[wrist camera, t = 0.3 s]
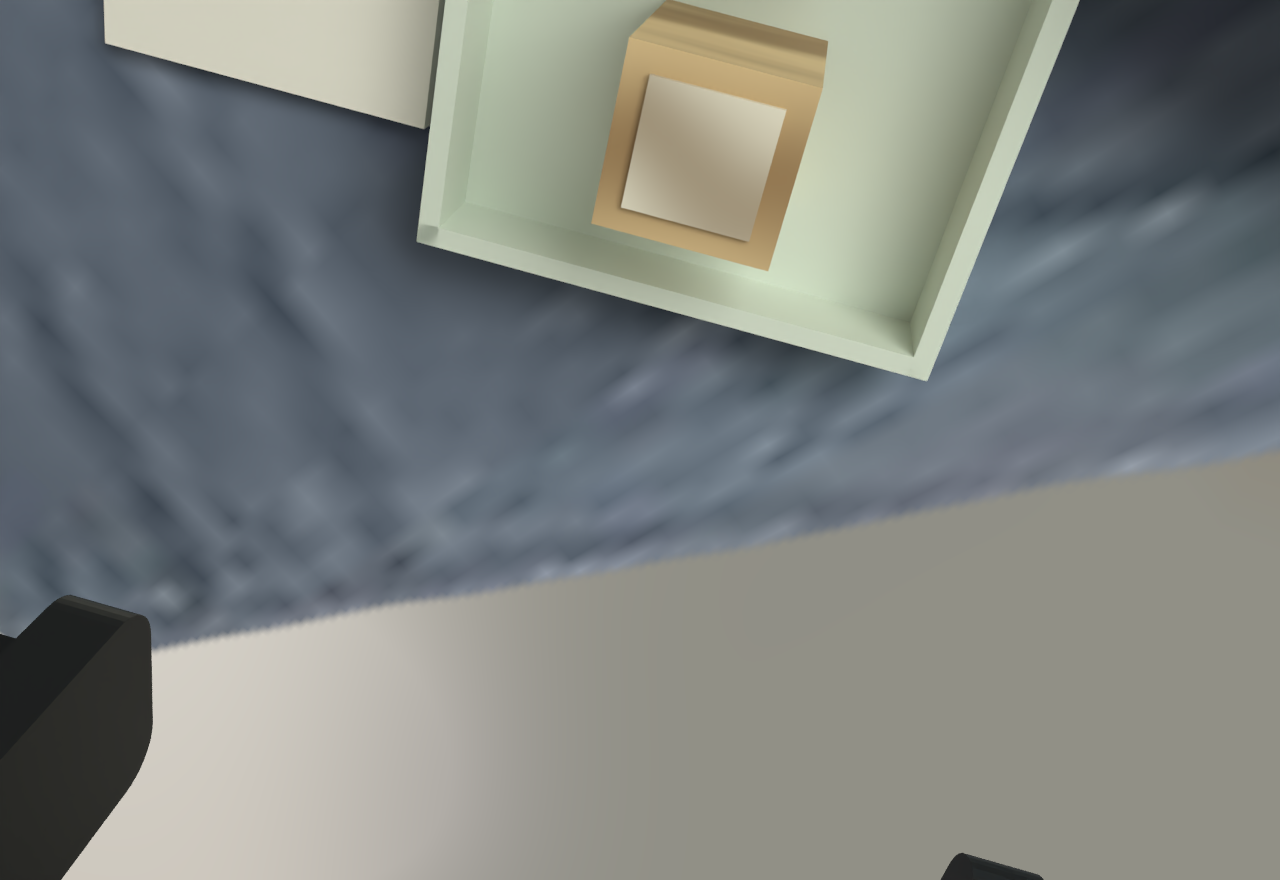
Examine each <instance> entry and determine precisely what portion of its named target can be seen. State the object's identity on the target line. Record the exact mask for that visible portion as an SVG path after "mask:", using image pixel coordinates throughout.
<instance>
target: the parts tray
mask: <svg viewBox="0 0 1280 880" xmlns="http://www.w3.org/2000/svg"><path fill="white" fill-rule="evenodd" d="M665 1H666V0H445V7H444V16H443V24H442V32H441V41H440V49H439V57H438V66H437V74H436V82H435V91H434V99H433V108H432V116H431V124H430V133H429V141H428V149H427V158H426V166H425V174H424V183H423V191H422V199H421V208H420V216H419V225H418V233H417V241H416V242H419V243H423V244H427V245H430V246H434V247H437V248H441V249H445V250H448V251H452V252H456V253H459V254H463V255H467V256H470V257H474V258H478V259H481V260H485V261H489V262H492V263H496V264H500V265H503V266H507V267H511V268H514V269H518V270H522V271H525V272H529V273H533V274H536V275H540V276H544V277H547V278H551V279H555V280H558V281H562V282H566V283H569V284H573V285H577V286H580V287H584V288H588V289H591V290H595V291H599V292H602V293H606V294H609V295H613V296H617V297H620V298H624V299H628V300H631V301H635V302H639V303H642V304H646V305H650V306H653V307H657V308H661V309H664V310H668V311H672V312H675V313H679V314H683V315H686V316H690V317H694V318H697V319H701V320H705V321H708V322H712V323H716V324H719V325H723V326H727V327H730V328H734V329H738V330H741V331H745V332H749V333H752V334H756V335H760V336H763V337H767V338H771V339H774V340H778V341H782V342H785V343H789V344H792V345H796V346H800V347H803V348H807V349H811V350H814V351H818V352H822V353H825V354H829V355H833V356H836V357H840V358H844V359H847V360H851V361H855V362H858V363H862V364H866V365H869V366H873V367H877V368H880V369H884V370H888V371H891V372H895V373H899V374H902V375H906V376H910V377H913V378H917V379H921V380H924V381H927V380H928V378H929V375H930V373H931V370H932V368H933V365H934V363H935V360H936V358H937V355H938V353H939V350H940V348H941V345H942V343H943V340H944V338H945V335H946V333H947V330H948V328H949V325H950V323H951V320H952V318H953V315H954V313H955V310H956V308H957V305H958V303H959V301H960V298H961V296H962V293H963V291H964V288H965V286H966V283H967V281H968V278H969V276H970V273H971V271H972V268H973V266H974V263H975V261H976V258H977V256H978V253H979V251H980V248H981V246H982V243H983V241H984V238H985V236H986V233H987V231H988V228H989V226H990V223H991V221H992V218H993V216H994V213H995V211H996V208H997V206H998V203H999V201H1000V198H1001V196H1002V193H1003V191H1004V188H1005V186H1006V183H1007V181H1008V178H1009V176H1010V173H1011V171H1012V168H1013V166H1014V163H1015V161H1016V158H1017V156H1018V153H1019V151H1020V148H1021V146H1022V143H1023V141H1024V138H1025V136H1026V133H1027V131H1028V128H1029V126H1030V123H1031V121H1032V118H1033V116H1034V113H1035V111H1036V108H1037V106H1038V103H1039V101H1040V98H1041V96H1042V93H1043V91H1044V88H1045V86H1046V83H1047V81H1048V78H1049V76H1050V73H1051V71H1052V68H1053V66H1054V63H1055V61H1056V58H1057V56H1058V53H1059V51H1060V48H1061V46H1062V43H1063V41H1064V38H1065V36H1066V33H1067V31H1068V28H1069V26H1070V23H1071V21H1072V18H1073V16H1074V13H1075V11H1076V8H1077V6H1078V3H1079V1H1080V0H674V1H678V2H681V3H685V4H689V5H693V6H697V7H700V8H704V9H708V10H712V11H716V12H719V13H723V14H727V15H731V16H735V17H738V18H742V19H746V20H750V21H754V22H757V23H761V24H765V25H769V26H773V27H776V28H780V29H784V30H788V31H792V32H795V33H799V34H803V35H807V36H811V37H814V38H818V39H822V40H826V41H828V48H827V56H826V65H825V74H824V83H823V89H822V93H821V96H820V100H819V103H818V106H817V110H816V113H815V116H814V120H813V123H812V126H811V130H810V133H809V136H808V140H807V143H806V146H805V150H804V153H803V156H802V160H801V163H800V167H799V170H798V173H797V177H796V180H795V183H794V187H793V190H792V193H791V197H790V200H789V203H788V207H787V210H786V213H785V217H784V220H783V224H782V227H781V230H780V234H779V237H778V240H777V244H776V247H775V250H774V254H773V257H772V260H771V264H770V267H769V270H768V271H765V270H761V269H757V268H753V267H750V266H746V265H742V264H739V263H735V262H731V261H728V260H724V259H720V258H717V257H713V256H709V255H706V254H702V253H698V252H694V251H691V250H687V249H683V248H680V247H676V246H672V245H669V244H665V243H661V242H658V241H654V240H650V239H647V238H643V237H639V236H635V235H632V234H628V233H624V232H621V231H617V230H613V229H610V228H606V227H602V226H599V225H595V224H591V221H592V217H593V212H594V207H595V202H596V197H597V192H598V187H599V182H600V177H601V173H602V168H603V163H604V158H605V153H606V148H607V143H608V138H609V133H610V129H611V124H612V119H613V114H614V109H615V104H616V99H617V94H618V89H619V84H620V80H621V75H622V70H623V65H624V60H625V55H626V50H627V45H628V40H629V37H630V36H631V35H632V34H633V33H634V32H635V31H636V30H637V29H638V28H639V27H640V26H641V25H642V24H643V23H644V22H645V21H646V20H647V19H648V18H649V17H650V16H651V15H652V14H653V13H654V12H655V11H656V10H657V9H658V8H659V7H660V6H661V5H662V4H663V3H664V2H665Z"/></svg>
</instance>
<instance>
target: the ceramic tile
mask: <svg viewBox="0 0 1280 880" xmlns="http://www.w3.org/2000/svg"><path fill="white" fill-rule="evenodd" d="M444 7H445V0H104V24H105V43H106V44H110V45H114V46H117V47H121V48H125V49H128V50H132V51H136V52H140V53H143V54H147V55H151V56H154V57H158V58H162V59H166V60H169V61H173V62H177V63H180V64H184V65H188V66H192V67H195V68H199V69H203V70H206V71H210V72H214V73H217V74H221V75H225V76H229V77H232V78H236V79H240V80H243V81H247V82H251V83H255V84H258V85H262V86H266V87H269V88H273V89H277V90H281V91H284V92H288V93H292V94H295V95H299V96H303V97H307V98H310V99H314V100H318V101H321V102H325V103H329V104H333V105H336V106H340V107H344V108H347V109H351V110H355V111H359V112H362V113H366V114H370V115H373V116H377V117H381V118H384V119H388V120H392V121H396V122H399V123H403V124H407V125H410V126H414V127H418V128H422V129H425V128H426V127H428V126H429V125H430V124H431V116H432V108H433V99H434V91H435V82H436V74H437V66H438V57H439V49H440V41H441V32H442V24H443V16H444Z"/></svg>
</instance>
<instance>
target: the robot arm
mask: <svg viewBox="0 0 1280 880" xmlns="http://www.w3.org/2000/svg"><path fill="white" fill-rule="evenodd" d="M152 725H153V714H152V661H151V628H150V624H149V621H148V619H147V618H146V617H145V616H143V615H139V614H136V613H132V612H129V611H125V610H122V609H118V608H115V607H111V606H108V605H104V604H101V603H97V602H94V601H90V600H87V599H83V598H80V597H76V596H73V595H66V596H63V597H61V598H59V599H57V600H56V601H54V602H53V603H52V604H51V605H50V606H49V607H47V608H46V609H45V610H44V611H43V612H42V613H41V614H40V615H39V616H38V617H37V618H36V619H35V620H34V621H33V622H32V623H31V624H30V625H29V626H28V627H27V628H26V629H25V630H24V631H23V632H22V633H21V634H20V635H19V636H18V637H17V638H12V637H9V636H5V635H2V634H0V880H61V879H62V878H63V876H64V875H65V874H66V872H67V871H68V870H69V868H70V867H71V866H72V864H73V863H74V862H75V860H76V859H77V858H78V856H79V855H80V854H81V852H82V851H83V850H84V848H85V847H86V845H87V844H88V843H89V841H90V840H91V838H92V837H93V836H94V835H95V833H96V832H97V831H98V829H99V828H100V827H101V825H102V824H103V822H104V821H105V820H106V819H107V817H108V816H109V815H110V813H111V812H112V811H113V809H114V808H115V806H116V805H117V804H118V802H119V801H120V800H121V798H122V797H123V796H124V794H125V793H126V792H127V790H128V789H129V787H130V786H131V784H132V782H133V781H134V779H135V778H136V776H137V774H138V772H139V770H140V768H141V765H142V763H143V761H144V758H145V755H146V753H147V750H148V746H149V743H150V739H151V733H152ZM941 880H1043V878H1042V877H1041V876H1040V875H1037V874H1034V873H1031V872H1027V871H1024V870H1020V869H1017V868H1013V867H1010V866H1006V865H1003V864H999V863H996V862H992V861H989V860H985V859H982V858H978V857H975V856H971V855H968V854H964V853H960V854H958V855H956V856H955V857H954V858H953V860H952V861H951V862H950V864H949V866H948V868H947V869H946V871H945V873H944V875H943V877H942V878H941Z"/></svg>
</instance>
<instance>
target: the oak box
mask: <svg viewBox="0 0 1280 880" xmlns="http://www.w3.org/2000/svg"><path fill="white" fill-rule="evenodd" d="M827 48H828V41H826V40H822V39H818V38H814V37H811V36H807V35H803V34H799V33H795V32H792V31H788V30H784V29H780V28H776V27H773V26H769V25H765V24H761V23H757V22H754V21H750V20H746V19H742V18H738V17H735V16H731V15H727V14H723V13H719V12H716V11H712V10H708V9H704V8H700V7H697V6H693V5H689V4H685V3H681V2H678V1H674V0H666V1H665V2H664V3H663V4H662V5H661V6H660V7H659V8H658V9H657V10H656V11H655V12H654V13H653V14H652V15H651V16H650V17H649V18H648V19H647V20H646V21H645V22H644V23H643V24H642V25H641V26H640V27H639V28H638V29H637V30H636V31H635V32H634V33H633V34H632V35H631V36H630V37H629V40H628V45H627V50H626V55H625V60H624V65H623V70H622V75H621V80H620V84H619V89H618V94H617V99H616V104H615V109H614V114H613V119H612V124H611V129H610V133H609V138H608V143H607V148H606V153H605V158H604V163H603V168H602V173H601V177H600V182H599V187H598V192H597V197H596V202H595V207H594V212H593V217H592V221H591V224H595V225H599V226H602V227H606V228H610V229H613V230H617V231H621V232H624V233H628V234H632V235H635V236H639V237H643V238H647V239H650V240H654V241H658V242H661V243H665V244H669V245H672V246H676V247H680V248H683V249H687V250H691V251H694V252H698V253H702V254H706V255H709V256H713V257H717V258H720V259H724V260H728V261H731V262H735V263H739V264H742V265H746V266H750V267H753V268H757V269H761V270H765V271H768V270H769V267H770V264H771V260H772V257H773V254H774V250H775V247H776V244H777V240H778V237H779V234H780V230H781V227H782V224H783V220H784V217H785V213H786V210H787V207H788V203H789V200H790V197H791V193H792V190H793V187H794V183H795V180H796V177H797V173H798V170H799V167H800V163H801V160H802V156H803V153H804V150H805V146H806V143H807V140H808V136H809V133H810V130H811V126H812V123H813V120H814V116H815V113H816V110H817V106H818V103H819V100H820V96H821V93H822V89H823V83H824V74H825V65H826V56H827Z"/></svg>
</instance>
